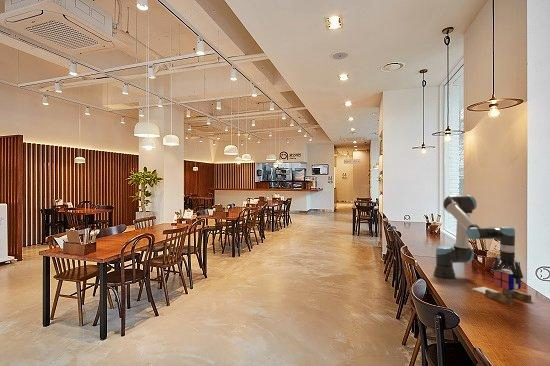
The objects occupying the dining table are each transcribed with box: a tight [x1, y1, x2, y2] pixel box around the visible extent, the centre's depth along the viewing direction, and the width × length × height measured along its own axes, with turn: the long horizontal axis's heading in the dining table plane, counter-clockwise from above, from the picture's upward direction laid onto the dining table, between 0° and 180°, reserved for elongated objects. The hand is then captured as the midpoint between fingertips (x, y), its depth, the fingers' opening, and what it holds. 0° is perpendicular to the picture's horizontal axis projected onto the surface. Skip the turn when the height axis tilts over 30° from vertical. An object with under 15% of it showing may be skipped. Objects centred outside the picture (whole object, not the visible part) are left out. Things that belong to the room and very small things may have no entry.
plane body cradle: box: [484, 288, 532, 306], centre depth 195 cm, size 16×18×9 cm
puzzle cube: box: [493, 268, 522, 290], centre depth 195 cm, size 10×10×10 cm
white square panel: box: [471, 286, 501, 295], centre depth 208 cm, size 11×11×1 cm
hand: (507, 285), depth 195 cm, fingers closed on puzzle cube, 10 cm apart
